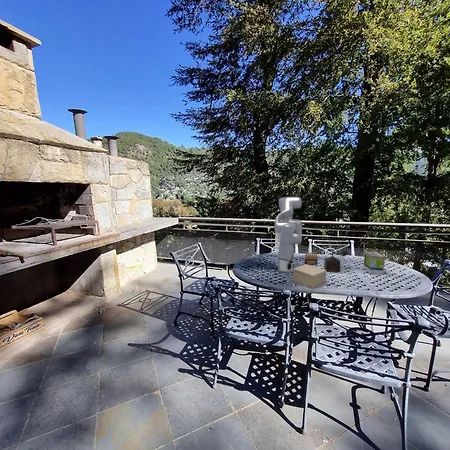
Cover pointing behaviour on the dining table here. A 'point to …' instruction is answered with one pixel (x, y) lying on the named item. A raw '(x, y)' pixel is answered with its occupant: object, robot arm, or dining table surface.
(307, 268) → the box lid
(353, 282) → the dining table surface
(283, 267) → the weight block
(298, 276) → the cardboard box
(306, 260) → the ammunition clip
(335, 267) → the manual coffee grinder
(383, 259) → the tea box
